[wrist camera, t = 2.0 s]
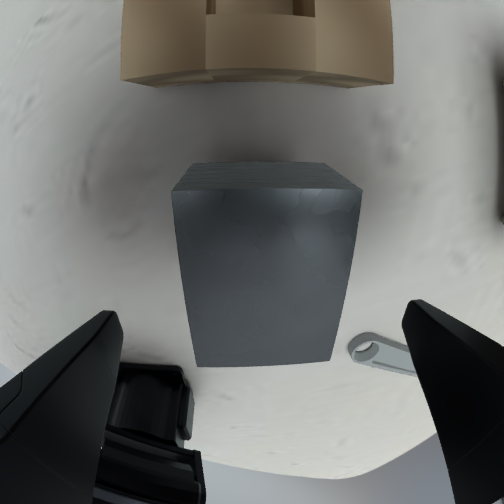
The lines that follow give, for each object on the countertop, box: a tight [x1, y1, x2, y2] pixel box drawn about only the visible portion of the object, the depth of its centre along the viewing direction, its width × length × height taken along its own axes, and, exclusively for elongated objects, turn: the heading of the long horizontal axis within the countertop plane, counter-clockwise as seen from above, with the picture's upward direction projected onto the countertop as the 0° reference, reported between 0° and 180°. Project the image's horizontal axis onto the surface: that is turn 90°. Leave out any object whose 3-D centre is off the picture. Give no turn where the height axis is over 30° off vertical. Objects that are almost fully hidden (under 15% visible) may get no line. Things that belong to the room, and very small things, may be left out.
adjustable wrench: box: [348, 333, 418, 377], centre depth 24 cm, size 25×6×2 cm, turn 58°
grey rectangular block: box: [171, 162, 362, 367], centre depth 13 cm, size 5×7×8 cm
